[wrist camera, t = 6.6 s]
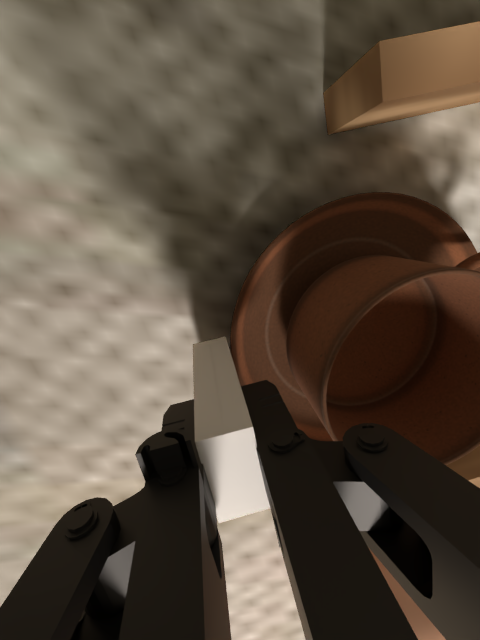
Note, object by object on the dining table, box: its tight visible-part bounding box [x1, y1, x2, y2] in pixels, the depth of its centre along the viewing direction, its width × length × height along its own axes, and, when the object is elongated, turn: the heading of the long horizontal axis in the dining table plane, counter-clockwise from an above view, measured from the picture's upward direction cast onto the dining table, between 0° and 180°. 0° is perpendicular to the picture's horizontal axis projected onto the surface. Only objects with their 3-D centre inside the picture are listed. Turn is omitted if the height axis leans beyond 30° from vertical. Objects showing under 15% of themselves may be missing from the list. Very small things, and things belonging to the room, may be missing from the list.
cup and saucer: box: [230, 192, 480, 465], centre depth 13 cm, size 12×12×6 cm
